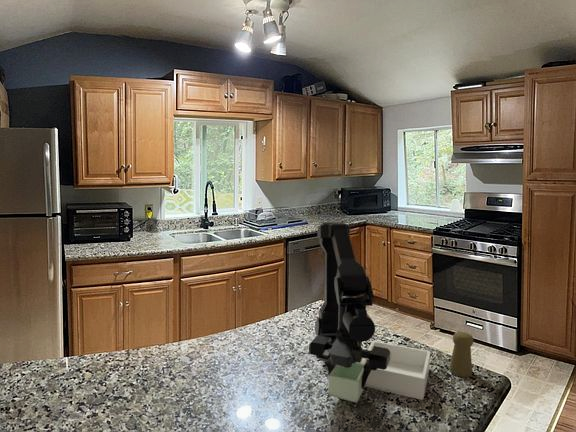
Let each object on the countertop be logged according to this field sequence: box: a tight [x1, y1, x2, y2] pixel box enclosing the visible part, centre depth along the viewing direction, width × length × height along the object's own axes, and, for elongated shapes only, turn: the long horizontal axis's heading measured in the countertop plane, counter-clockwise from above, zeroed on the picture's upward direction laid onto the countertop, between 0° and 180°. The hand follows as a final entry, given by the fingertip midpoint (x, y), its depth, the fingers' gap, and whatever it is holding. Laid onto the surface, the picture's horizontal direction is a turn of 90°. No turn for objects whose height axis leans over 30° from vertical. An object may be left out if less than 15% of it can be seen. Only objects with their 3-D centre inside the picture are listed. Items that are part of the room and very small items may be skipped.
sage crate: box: [327, 362, 366, 404], centre depth 102 cm, size 7×9×5 cm
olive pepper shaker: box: [448, 331, 474, 378], centre depth 115 cm, size 6×6×11 cm
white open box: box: [360, 340, 431, 401], centre depth 112 cm, size 16×16×6 cm
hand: (347, 384), depth 102 cm, fingers closed on sage crate, 7 cm apart
